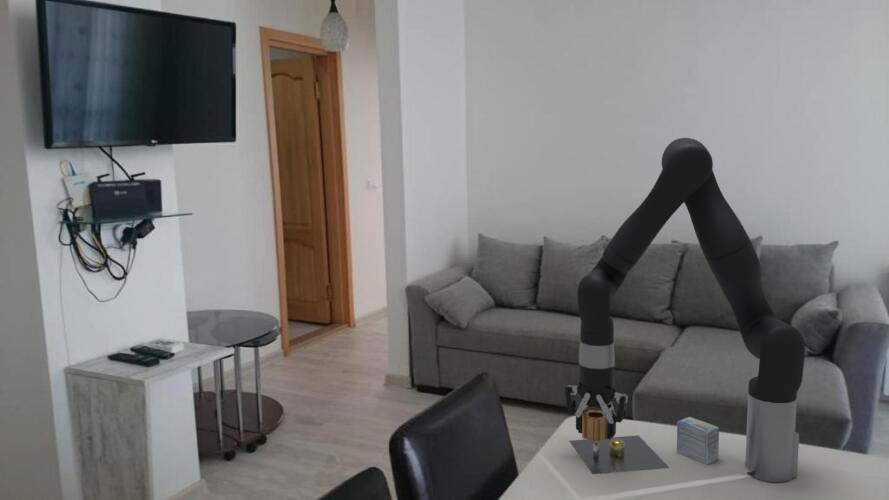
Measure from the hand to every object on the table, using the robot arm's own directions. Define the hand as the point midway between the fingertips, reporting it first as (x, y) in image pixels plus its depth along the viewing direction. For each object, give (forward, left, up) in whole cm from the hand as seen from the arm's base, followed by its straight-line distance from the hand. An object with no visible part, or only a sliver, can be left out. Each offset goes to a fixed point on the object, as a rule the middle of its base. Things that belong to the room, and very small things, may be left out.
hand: (595, 434), depth 155 cm
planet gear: (0, 0, 0) cm, 0 cm away
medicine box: (-22, +3, -7) cm, 24 cm away
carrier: (-5, -1, -7) cm, 9 cm away
